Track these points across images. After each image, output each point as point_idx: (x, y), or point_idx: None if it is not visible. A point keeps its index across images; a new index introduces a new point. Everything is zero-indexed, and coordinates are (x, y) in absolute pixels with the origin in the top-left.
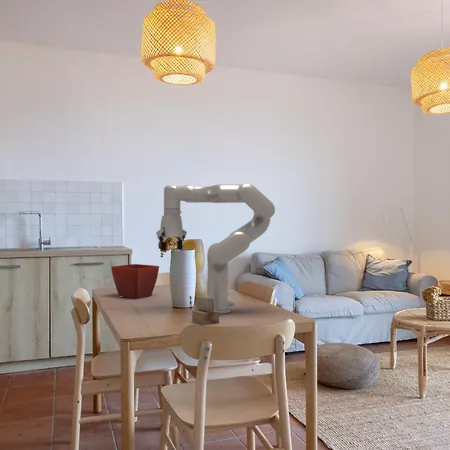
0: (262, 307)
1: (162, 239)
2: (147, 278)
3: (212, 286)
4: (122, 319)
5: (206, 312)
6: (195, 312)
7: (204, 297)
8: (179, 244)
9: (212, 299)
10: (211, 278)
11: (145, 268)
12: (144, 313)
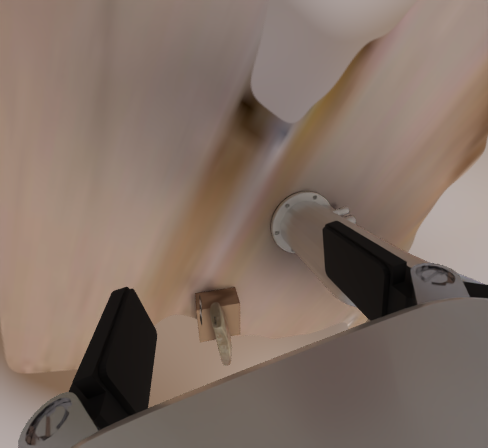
0: (400, 222)
1: None
2: None
3: (311, 268)
4: (23, 207)
5: (213, 335)
6: (197, 319)
7: (221, 348)
8: (356, 284)
9: (227, 364)
10: (323, 280)
11: None
12: (115, 152)
